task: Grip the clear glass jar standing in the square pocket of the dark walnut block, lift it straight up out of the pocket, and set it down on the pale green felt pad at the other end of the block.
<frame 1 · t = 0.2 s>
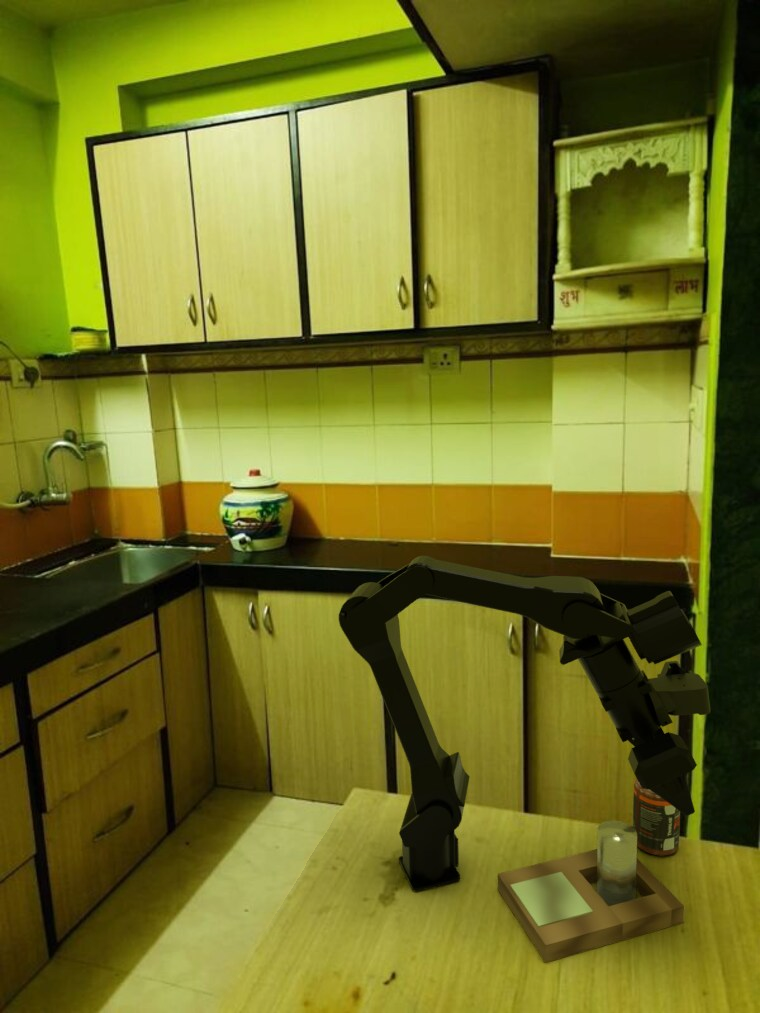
hand: (679, 791, 84), 14 cm above the table, tool tilted 30°, fingers open, 9 cm apart
clear glass jar: (615, 897, 87), resting in pocket block
pocket block: (587, 905, 86), on the table
supplement bottle: (655, 845, 97), on the table
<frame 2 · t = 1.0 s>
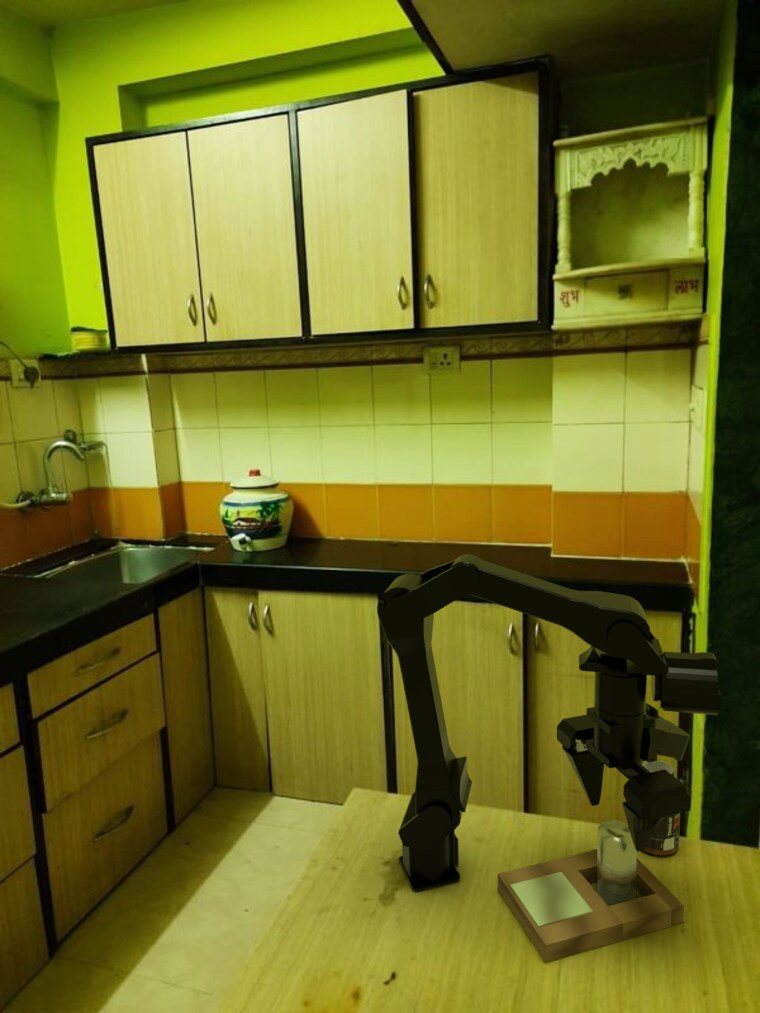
hand: (616, 826, 85), 10 cm above the table, tool pointing down, fingers open, 9 cm apart
nothing on the table moved.
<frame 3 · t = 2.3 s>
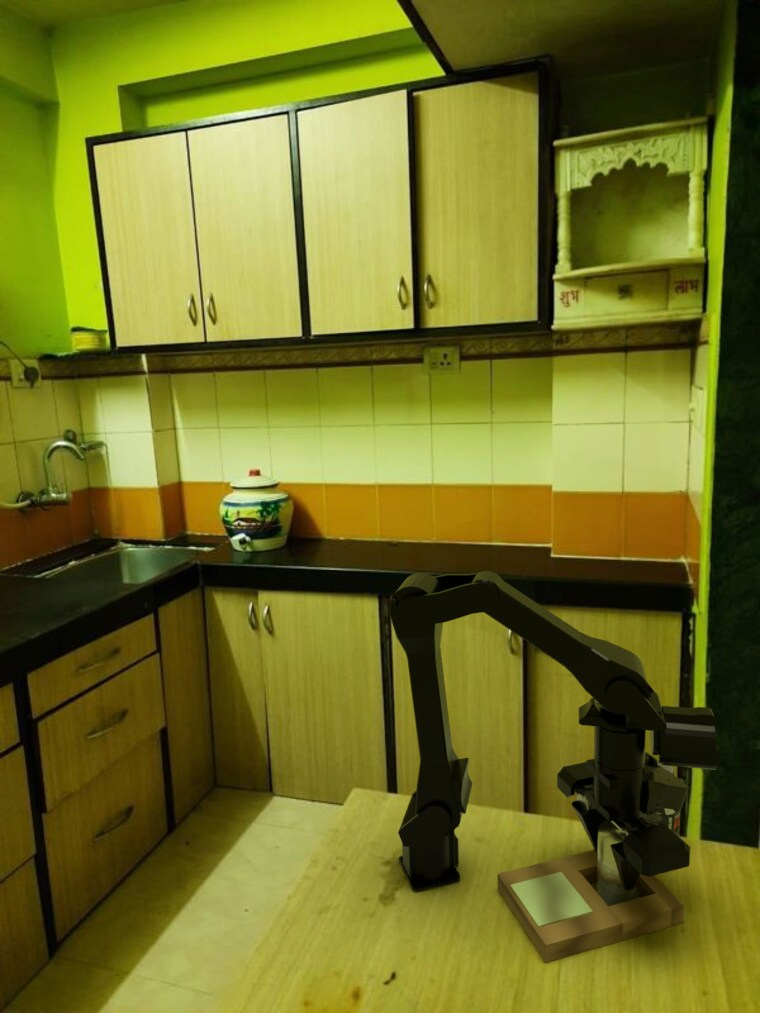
hand: (616, 875, 86), 3 cm above the table, tool pointing down, fingers closed on clear glass jar, 4 cm apart
clear glass jar: (615, 897, 87), resting in pocket block, touching gripper
everything else where it was.
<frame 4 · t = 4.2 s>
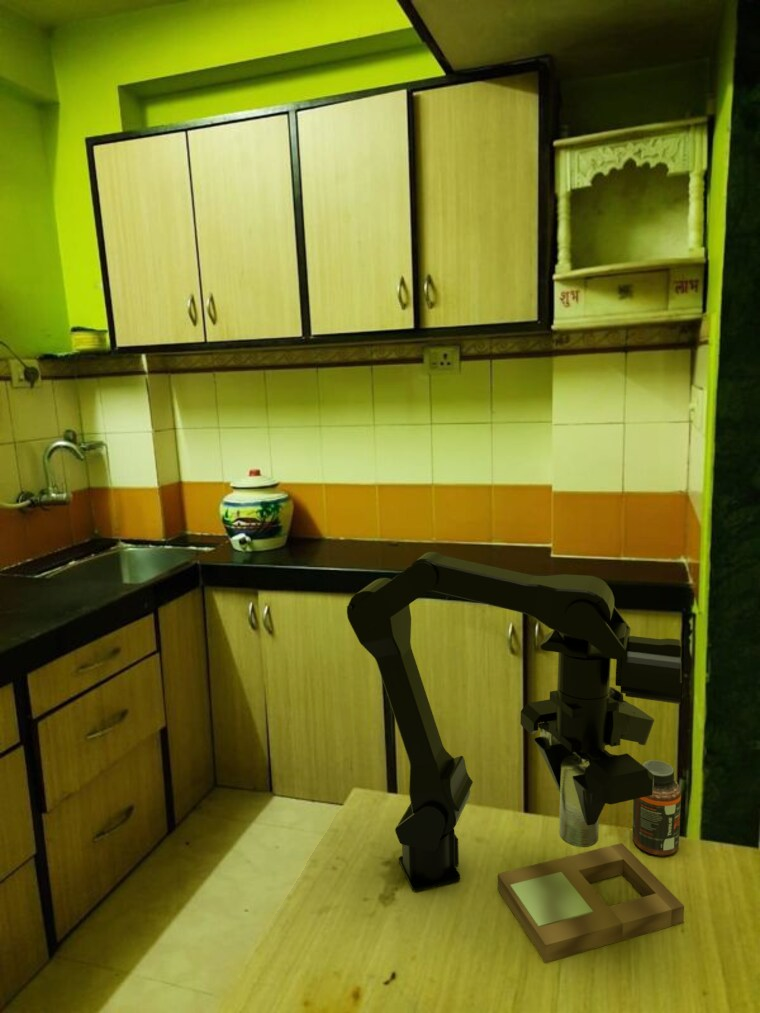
hand: (578, 811, 83), 13 cm above the table, tool pointing down, fingers closed on clear glass jar, 4 cm apart
clear glass jar: (578, 834, 84), point 10 cm above the table, touching gripper
everything else where it was.
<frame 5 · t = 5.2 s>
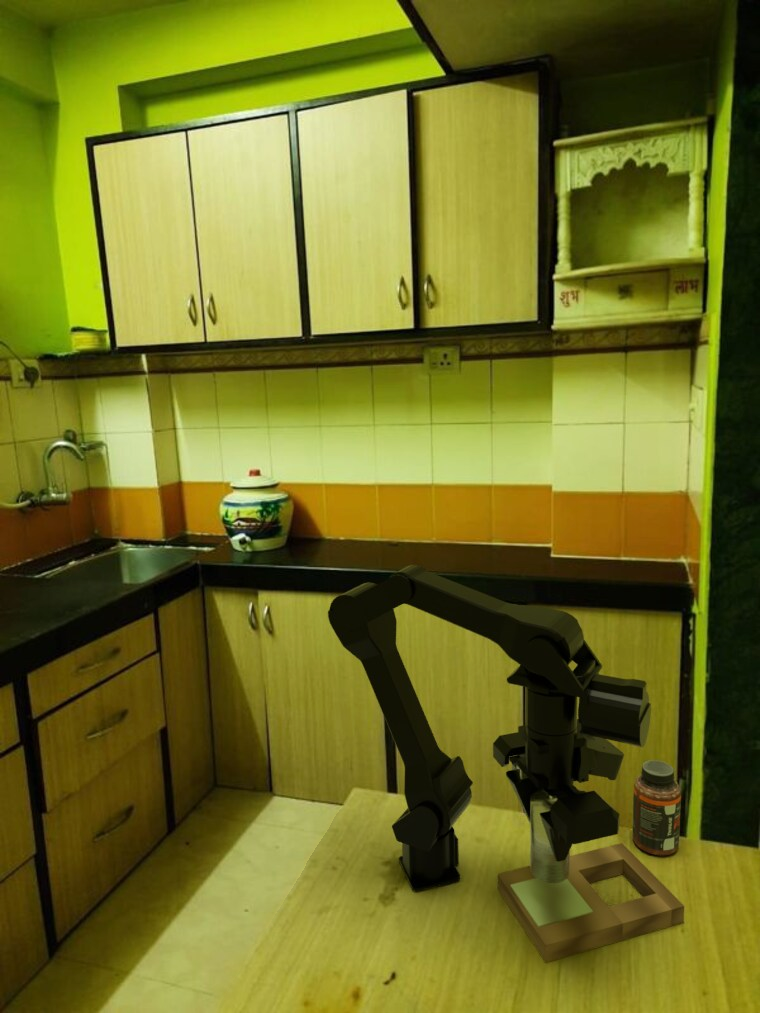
hand: (549, 847, 83), 9 cm above the table, tool pointing down, fingers closed on clear glass jar, 4 cm apart
clear glass jar: (549, 869, 84), point 6 cm above the table, touching gripper
everything else where it was.
when the fingers open (6 cm above the table, at t = 6.0 s): clear glass jar stays where it is, resting on pocket block.
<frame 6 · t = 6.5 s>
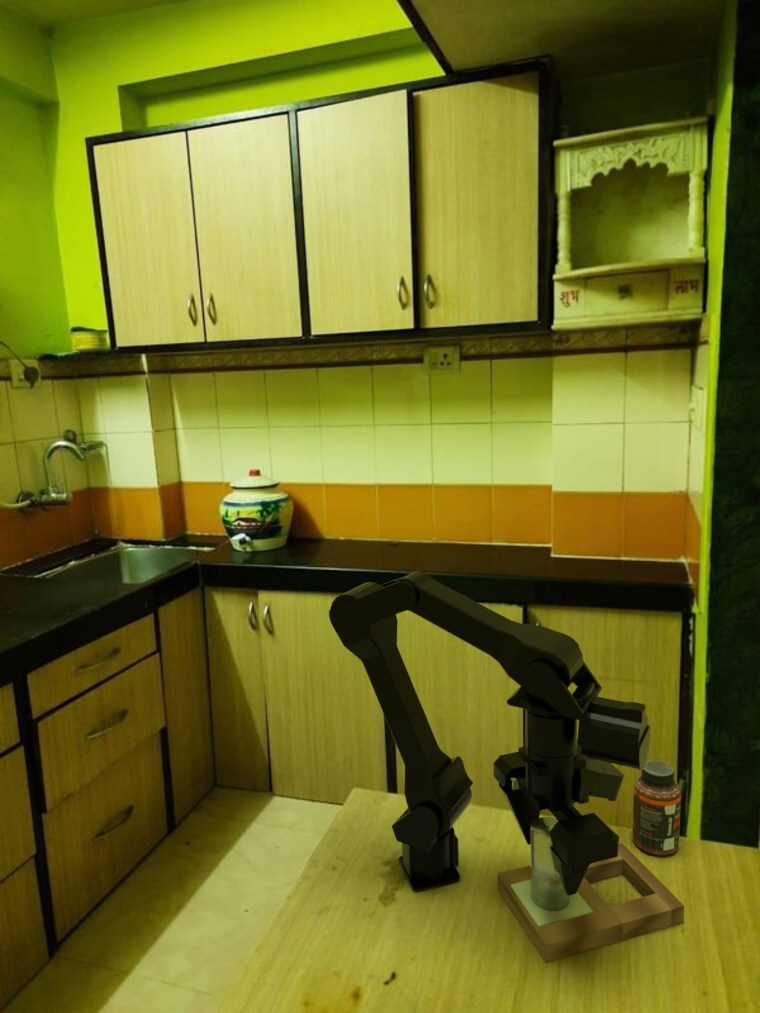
hand: (550, 867, 83), 6 cm above the table, tool pointing down, fingers open, 9 cm apart
clear glass jar: (550, 897, 84), point 2 cm above the table, touching pocket block
everything else where it was.
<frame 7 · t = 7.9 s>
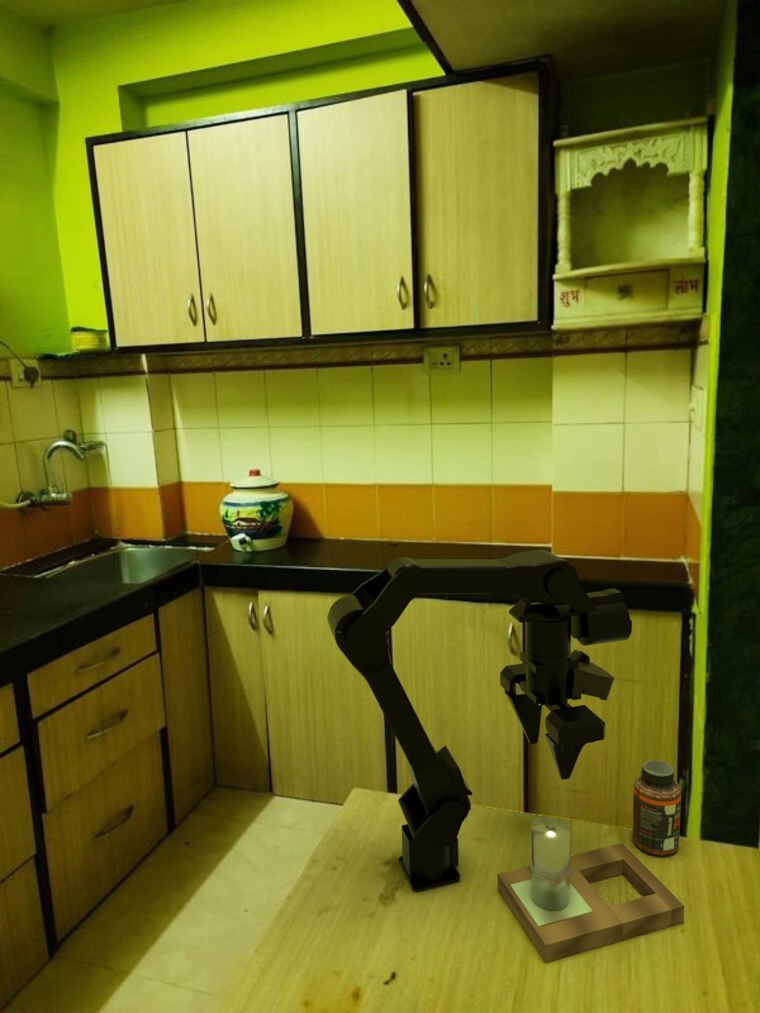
hand: (548, 760, 94), 13 cm above the table, tool pointing down, fingers open, 9 cm apart
nothing on the table moved.
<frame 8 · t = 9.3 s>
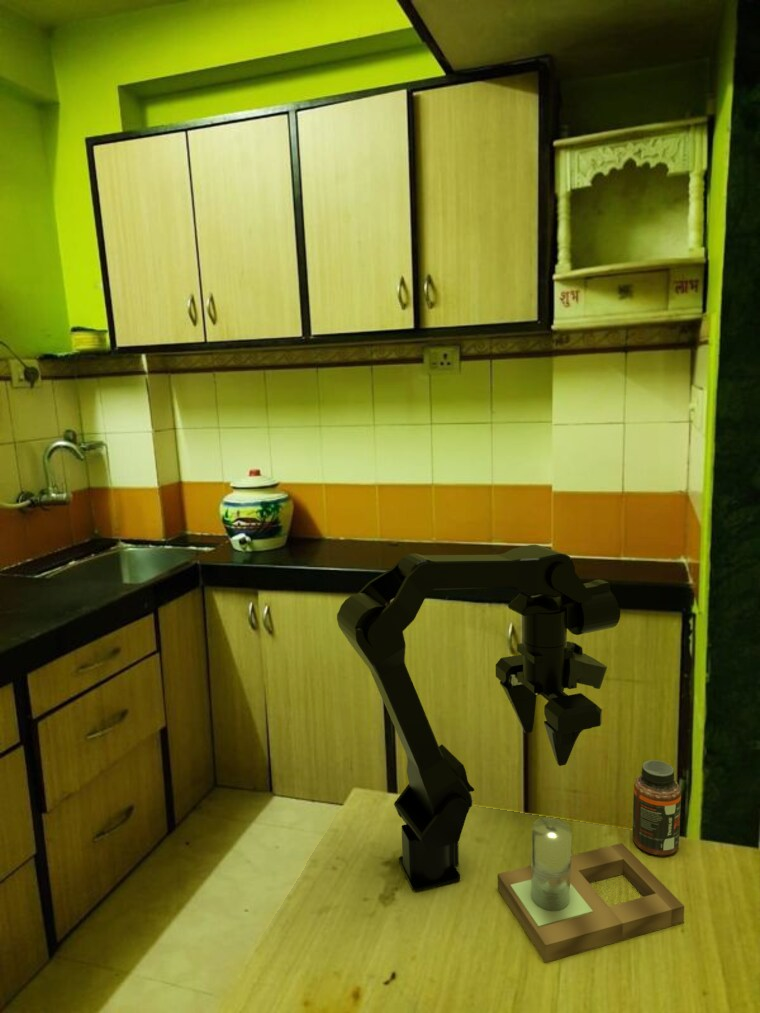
hand: (544, 747, 97), 13 cm above the table, tool pointing down, fingers open, 9 cm apart
nothing on the table moved.
at the end: clear glass jar inside the target area on the pocket block (0.0 cm from its centre), point 2.5 cm above the pocket block's base; clear glass jar tilted 1°; the gripper is holding nothing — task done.
